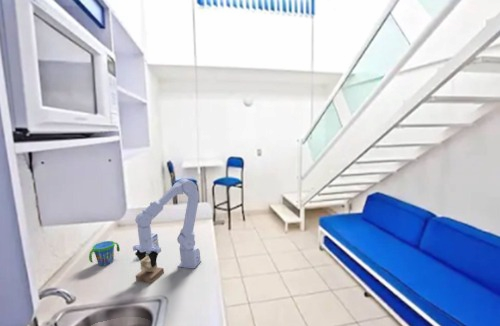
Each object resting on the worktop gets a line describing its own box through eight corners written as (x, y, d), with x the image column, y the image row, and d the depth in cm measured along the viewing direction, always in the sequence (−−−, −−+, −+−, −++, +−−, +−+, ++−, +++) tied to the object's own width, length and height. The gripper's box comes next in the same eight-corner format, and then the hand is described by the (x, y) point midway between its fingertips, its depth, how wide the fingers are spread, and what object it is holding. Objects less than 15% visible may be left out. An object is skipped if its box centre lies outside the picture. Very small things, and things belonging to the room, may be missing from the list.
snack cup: (116, 254, 164) (114, 237, 163) (124, 259, 157) (122, 241, 156) (87, 265, 153) (84, 247, 152) (94, 271, 146) (91, 252, 145)
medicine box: (152, 253, 163) (150, 239, 161) (144, 253, 164) (143, 238, 162) (159, 247, 170) (157, 233, 169) (152, 247, 171) (150, 233, 170)
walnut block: (164, 273, 140) (163, 268, 140) (152, 284, 132) (151, 278, 132) (148, 271, 143) (148, 266, 143) (136, 281, 135) (135, 275, 135)
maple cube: (156, 266, 139) (155, 256, 138) (150, 271, 134) (149, 261, 133) (148, 265, 140) (147, 255, 139) (141, 270, 135) (140, 260, 135)
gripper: (126, 240, 133) (130, 267, 135) (153, 243, 129) (156, 271, 131) (137, 234, 140) (140, 260, 142) (162, 236, 135) (165, 263, 137)
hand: (148, 265), depth 137 cm, fingers closed on maple cube, 5 cm apart
